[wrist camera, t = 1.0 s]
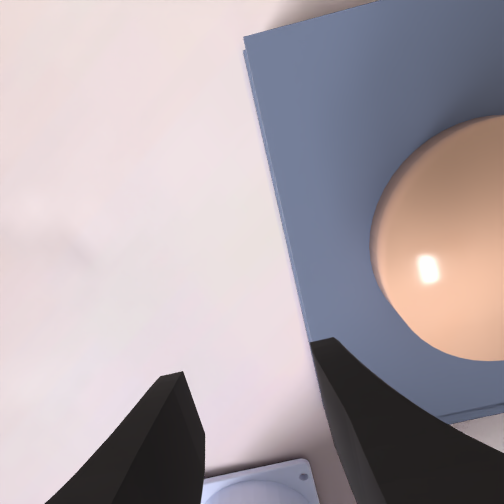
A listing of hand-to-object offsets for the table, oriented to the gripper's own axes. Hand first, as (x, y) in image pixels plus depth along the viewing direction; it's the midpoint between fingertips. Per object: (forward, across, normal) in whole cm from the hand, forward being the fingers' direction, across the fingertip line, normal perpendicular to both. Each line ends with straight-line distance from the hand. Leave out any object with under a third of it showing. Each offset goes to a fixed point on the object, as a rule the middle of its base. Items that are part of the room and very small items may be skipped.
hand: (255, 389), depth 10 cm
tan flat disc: (+6, -10, 0) cm, 11 cm away
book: (+9, -8, 0) cm, 13 cm away
